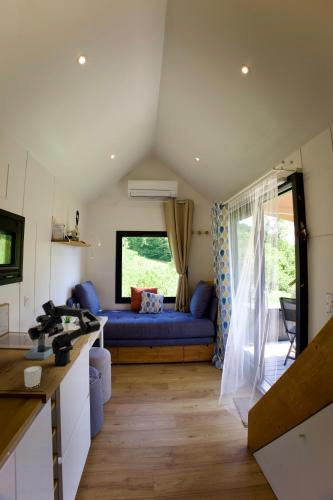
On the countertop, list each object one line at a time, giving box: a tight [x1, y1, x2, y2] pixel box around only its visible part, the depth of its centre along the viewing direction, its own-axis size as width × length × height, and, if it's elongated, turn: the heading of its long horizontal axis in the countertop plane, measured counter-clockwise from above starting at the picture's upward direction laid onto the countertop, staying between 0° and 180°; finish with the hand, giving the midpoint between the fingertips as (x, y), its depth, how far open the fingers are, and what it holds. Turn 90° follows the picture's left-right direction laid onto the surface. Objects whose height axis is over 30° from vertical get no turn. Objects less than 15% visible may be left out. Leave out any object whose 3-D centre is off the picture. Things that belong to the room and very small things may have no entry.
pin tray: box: [25, 345, 55, 361], centre depth 142 cm, size 11×11×4 cm
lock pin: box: [37, 333, 46, 353], centre depth 142 cm, size 6×6×12 cm
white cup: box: [23, 365, 43, 387], centre depth 108 cm, size 7×7×7 cm
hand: (40, 339), depth 143 cm, fingers open, 9 cm apart
